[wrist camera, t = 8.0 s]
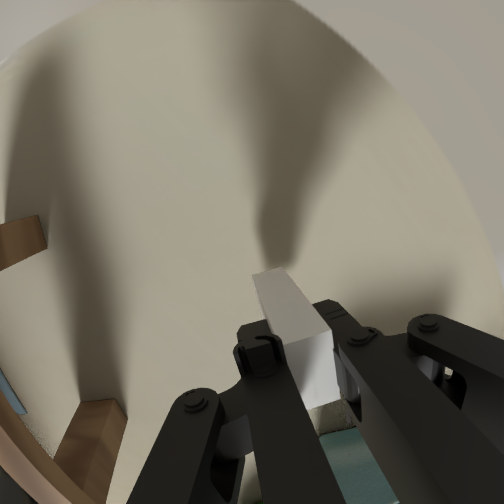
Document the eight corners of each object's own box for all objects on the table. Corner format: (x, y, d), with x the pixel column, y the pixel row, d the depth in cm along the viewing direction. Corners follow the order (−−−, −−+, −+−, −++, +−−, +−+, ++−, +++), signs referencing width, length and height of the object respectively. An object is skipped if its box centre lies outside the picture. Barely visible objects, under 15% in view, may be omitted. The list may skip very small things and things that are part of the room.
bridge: (93, 422, 17) (58, 519, 8) (4, 230, 14) (-105, 270, 5) (127, 419, 17) (100, 527, 9) (37, 214, 14) (-82, 250, 5)
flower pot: (289, 484, 21) (312, 563, 12) (294, 421, 19) (331, 524, 10) (378, 462, 22) (416, 527, 13) (401, 397, 20) (461, 471, 11)
